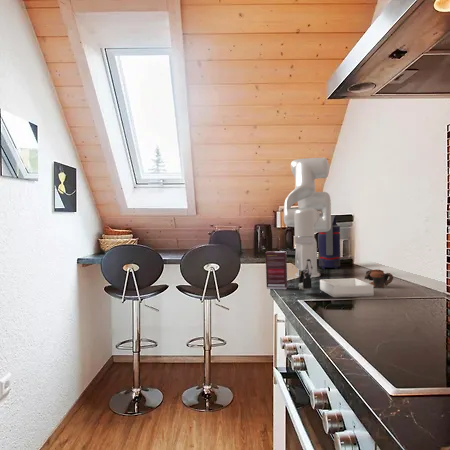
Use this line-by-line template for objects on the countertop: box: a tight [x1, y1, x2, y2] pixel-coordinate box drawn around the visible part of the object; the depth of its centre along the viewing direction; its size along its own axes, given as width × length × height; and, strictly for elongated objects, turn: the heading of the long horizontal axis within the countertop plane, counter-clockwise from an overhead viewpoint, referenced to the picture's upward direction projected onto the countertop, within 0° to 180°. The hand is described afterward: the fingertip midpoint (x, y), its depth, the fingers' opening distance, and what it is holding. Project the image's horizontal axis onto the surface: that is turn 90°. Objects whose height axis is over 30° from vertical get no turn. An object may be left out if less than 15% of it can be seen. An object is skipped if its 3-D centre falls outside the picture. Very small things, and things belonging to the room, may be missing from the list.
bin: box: [319, 277, 375, 298], centre depth 150 cm, size 16×16×4 cm
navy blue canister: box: [318, 215, 341, 270], centre depth 214 cm, size 14×12×30 cm
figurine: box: [298, 282, 311, 291], centre depth 147 cm, size 5×4×6 cm
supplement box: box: [265, 250, 288, 290], centre depth 160 cm, size 9×5×16 cm, turn 75°
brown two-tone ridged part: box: [364, 269, 394, 289], centre depth 161 cm, size 12×10×8 cm
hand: (305, 286), depth 147 cm, fingers closed on figurine, 4 cm apart
